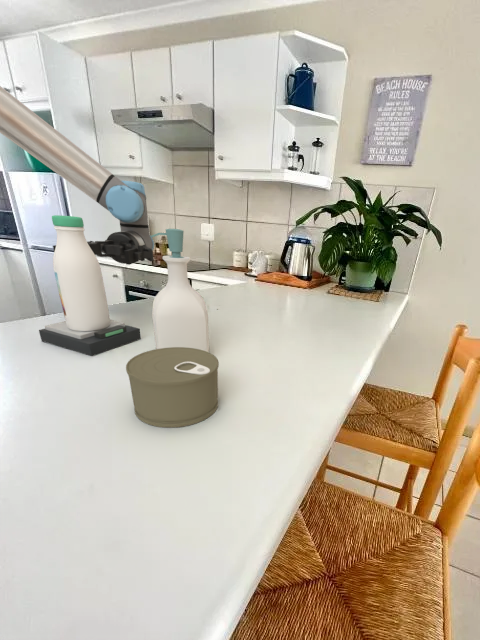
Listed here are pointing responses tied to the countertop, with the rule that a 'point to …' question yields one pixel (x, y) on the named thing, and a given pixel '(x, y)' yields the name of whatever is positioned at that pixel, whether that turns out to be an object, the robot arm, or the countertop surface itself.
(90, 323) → the milk bottle
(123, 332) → the kitchen scale
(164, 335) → the soap bottle
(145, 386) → the can
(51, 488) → the countertop surface
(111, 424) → the countertop surface
